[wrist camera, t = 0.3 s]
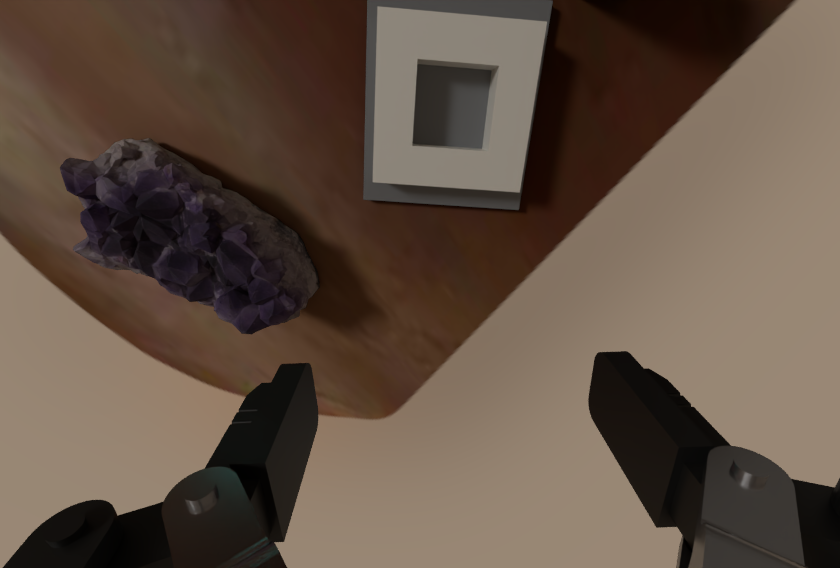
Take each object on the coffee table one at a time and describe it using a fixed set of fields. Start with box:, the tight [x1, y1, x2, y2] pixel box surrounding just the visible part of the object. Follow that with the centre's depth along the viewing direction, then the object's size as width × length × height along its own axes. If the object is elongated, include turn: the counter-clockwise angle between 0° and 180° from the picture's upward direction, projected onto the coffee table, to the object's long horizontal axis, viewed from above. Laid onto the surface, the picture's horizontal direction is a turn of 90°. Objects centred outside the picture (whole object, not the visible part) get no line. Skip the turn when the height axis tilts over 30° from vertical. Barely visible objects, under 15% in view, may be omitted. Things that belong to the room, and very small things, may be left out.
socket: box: [363, 0, 553, 210], centre depth 33 cm, size 16×14×4 cm
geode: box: [60, 138, 320, 334], centre depth 34 cm, size 20×12×10 cm, turn 59°
